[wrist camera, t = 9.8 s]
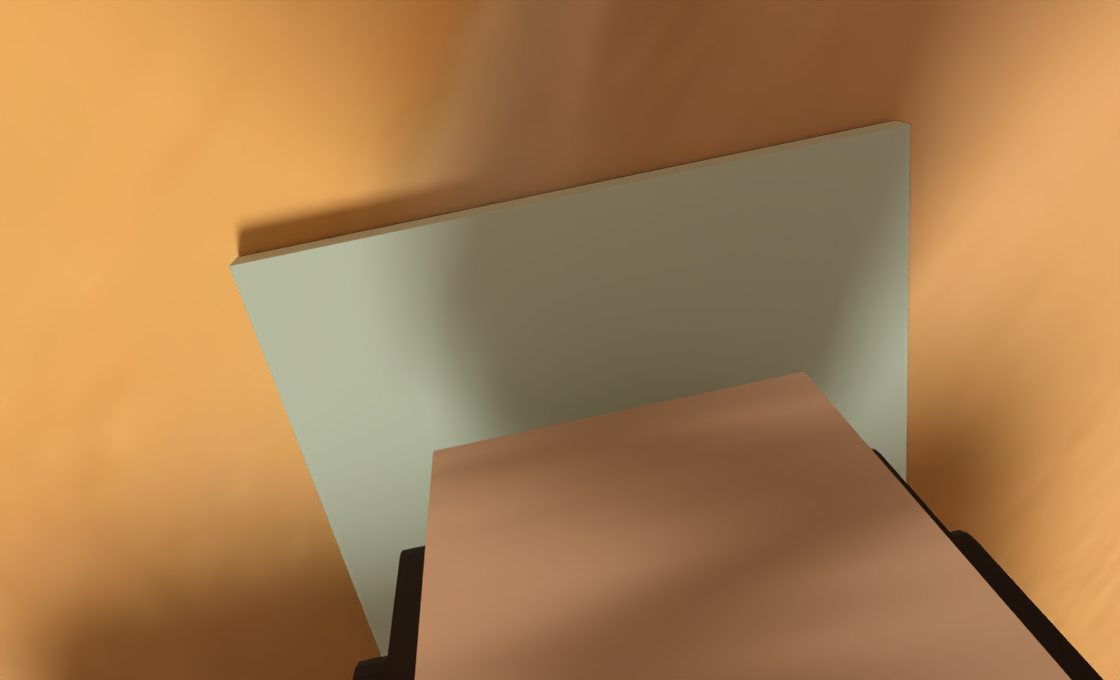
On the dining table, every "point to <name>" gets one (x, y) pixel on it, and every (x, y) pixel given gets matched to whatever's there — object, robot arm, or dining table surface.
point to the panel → (583, 319)
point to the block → (701, 554)
